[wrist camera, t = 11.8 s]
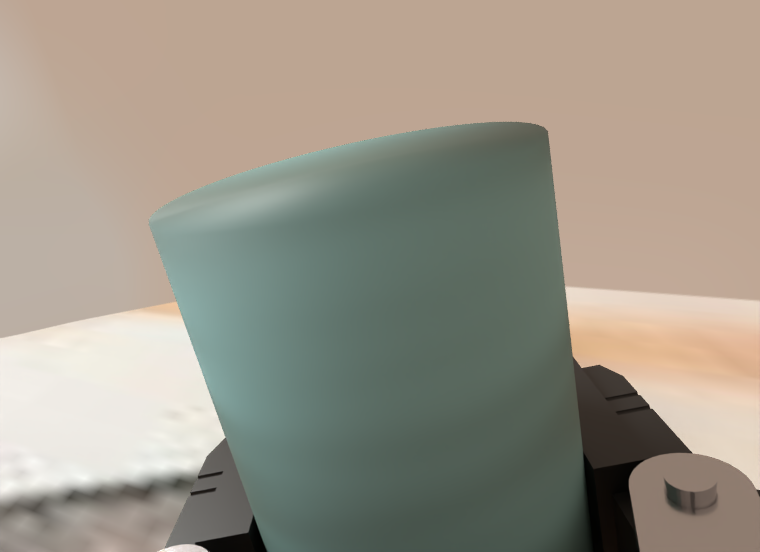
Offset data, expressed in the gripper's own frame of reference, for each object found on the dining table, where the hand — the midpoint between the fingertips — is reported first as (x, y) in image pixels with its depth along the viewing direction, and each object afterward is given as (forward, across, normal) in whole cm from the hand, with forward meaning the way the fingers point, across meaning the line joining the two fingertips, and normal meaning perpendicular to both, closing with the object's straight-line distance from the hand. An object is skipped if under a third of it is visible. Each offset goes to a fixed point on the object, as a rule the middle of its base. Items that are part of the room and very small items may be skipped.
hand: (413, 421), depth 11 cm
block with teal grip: (+4, +1, +8) cm, 8 cm away
